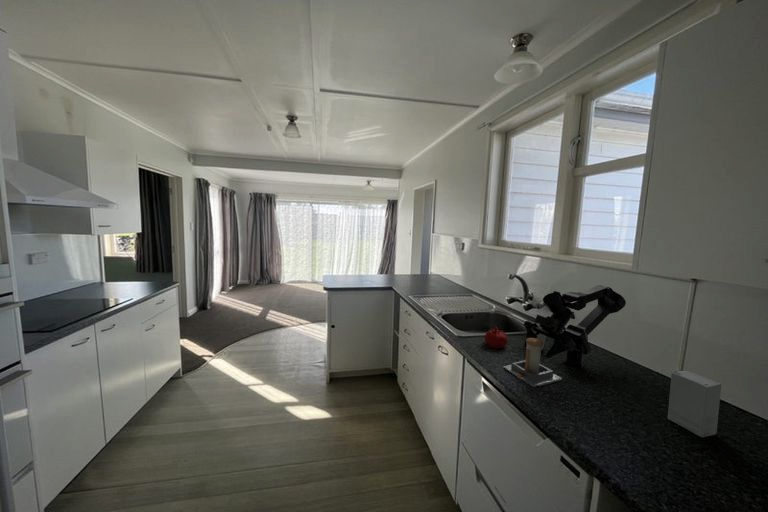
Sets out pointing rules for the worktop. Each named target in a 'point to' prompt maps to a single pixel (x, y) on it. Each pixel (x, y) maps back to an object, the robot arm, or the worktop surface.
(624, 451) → the worktop surface
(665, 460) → the worktop surface
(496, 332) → the pomegranate
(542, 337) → the dixie cup
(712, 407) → the skincare box
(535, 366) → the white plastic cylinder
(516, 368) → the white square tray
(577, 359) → the robot arm
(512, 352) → the worktop surface
